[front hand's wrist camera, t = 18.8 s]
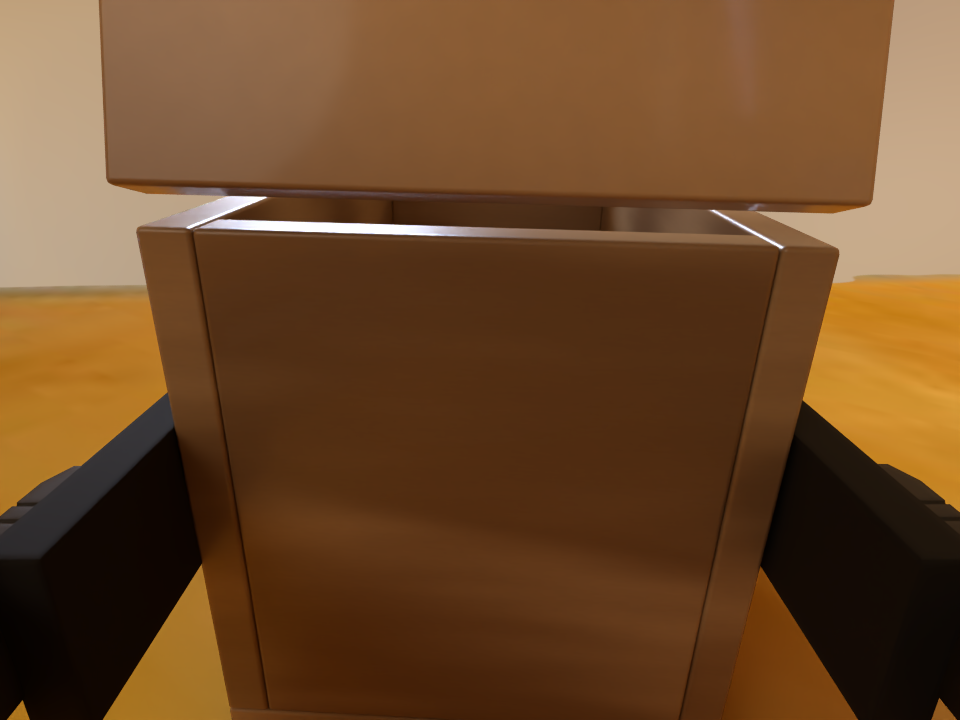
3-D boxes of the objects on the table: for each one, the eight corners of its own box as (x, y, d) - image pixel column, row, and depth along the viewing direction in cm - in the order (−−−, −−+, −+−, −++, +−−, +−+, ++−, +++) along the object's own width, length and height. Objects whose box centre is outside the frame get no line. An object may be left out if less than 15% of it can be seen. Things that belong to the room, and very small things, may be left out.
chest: (384, 388, 28) (373, 146, 24) (599, 397, 27) (625, 152, 23) (233, 736, 13) (132, 226, 8) (711, 763, 12) (844, 247, 8)
